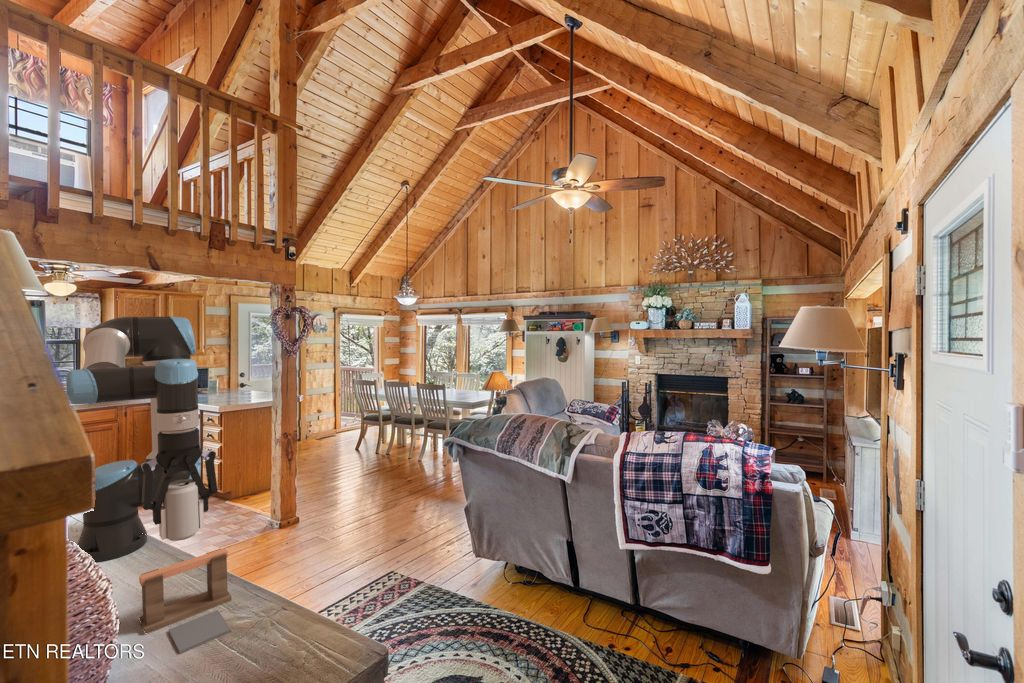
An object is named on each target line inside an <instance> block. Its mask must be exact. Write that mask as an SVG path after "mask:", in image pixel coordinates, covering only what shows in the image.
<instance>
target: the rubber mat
mask: <svg viewBox="0 0 1024 683" xmlns="http://www.w3.org/2000/svg"><path fill="white" fill-rule="evenodd" d="M230 632H232V628H231V627H230V625H229V624H228V622H227V621H226V620H225V618H224V616H223V615H222V614H221V612H220V611H219V610H218V609H217V610H214V611H211V612H209V613H206V614H203V615H202V616H199V617H197V618H194V619H192V620H189V621H187V622H185V623H182V624H178V625H176V626H175V627H172V628H170V629H168V634H169V636H170V637H171V640H172V642H173V643H174V646H175V647H176V650H177V651H178V653H179V654H183V653H185V652H188V651H189V650H192V649H194V648H196V647H199V646H201V645H203V644H205V643H207V642H210V641H213V640H215V639H217V638H219V637H222V636H224V635H225V634H227V633H230Z"/></svg>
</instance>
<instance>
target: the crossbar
mask: <svg viewBox="0 0 1024 683" xmlns="http://www.w3.org/2000/svg"><path fill="white" fill-rule="evenodd" d="M219 549H220V550H218V549H216V550H217V551H215V550H213V551H214V552H212V551H210V552H211V553H209V552H207V553H208V554H206V553H205V554H202V555H199V556H196V557H192V558H190V559H189V558H188V559H187V560H184V561H181V562H178V563H174V564H171V565H169V566H165V567H162V568H157V569H158V570H156V569H154V570H155V571H153V570H151V571H152V572H150V571H148V572H149V573H147V572H145V573H146V574H143V573H142V574H143V575H141V574H140V575H138V576H139V578H138V579H139V584H140V586H141V587H142V586H144V585H145V580H147V579H150V578H153V577H156V576H159V575H163V580H164V579H167V578H170V577H173V576H176V575H180V574H183V573H185V572H188V571H192V570H195V569H197V568H200V567H203V566H207V564H209V563H211V558H214V557H217V556H220V555H223V554H226V555H227V558H229V557H228V556H229V554H228V552H229V550H227V549H226V548H225V547H224V548H219Z"/></svg>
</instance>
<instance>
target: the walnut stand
mask: <svg viewBox="0 0 1024 683" xmlns="http://www.w3.org/2000/svg"><path fill="white" fill-rule="evenodd" d="M220 549H221V548H219V549H215V550H212V551H209V552H206V553H205V554H208V553H211V552H214V551H217V550H220ZM158 569H159V568H156V569H154V570H149V571H146V572H144V573H141V574H140V575H143V574H146V573H149V572H152V571H155V570H158ZM206 582H207V584H206V586H207V590H206V591H204V592H201V593H199V594H196V595H193V596H192V597H191V596H190V597H188V598H185V599H182V600H180V601H177V602H174V603H172V604H170V605H167V606H165V595H164V594H165V593H164V579H163V575H159V576H156V577H153V578H150V579H147V580H145V585H144V586H141V595H142V596H141V598H142V599H141V601H142V603H141V604H142V615H140V616H138V618H140V621H141V623H142V626H143V628H142V630H143V629H144V631H145V633H148V634H150V633H153V632H155V631H157V630H160V629H162V628H165V627H168V626H170V625H173V624H176V623H177V622H180V621H183V620H185V619H188V618H190V617H192V616H196V615H199V614H200V613H202V612H205V611H208V610H211V609H213V608H215V607H218V606H221V605H222V604H223V605H224V604H225V603H228V602H230V601H232V598H233V597H232V595H231V594H230V592H229V590H228V557H227V555H226V554H223V555H220V556H217V557H214V558H211V563H209V564H207V565H206ZM140 621H139V622H140ZM142 626H141V627H142ZM144 631H143V632H144ZM152 631H153V632H152ZM149 632H150V633H149ZM145 633H144V634H145Z"/></svg>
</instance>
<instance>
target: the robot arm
mask: <svg viewBox="0 0 1024 683" xmlns="http://www.w3.org/2000/svg"><path fill="white" fill-rule="evenodd" d="M195 340H196V339H195V334H194V331H193V326H192V324H191V322H190V319H188V318H187V317H184V316H183V317H181V316H171V315H170V316H119V317H115V318H112V319H108V320H105V321H103V322H101V323H99V324H97V325H95V326H94V327H92V328H91V329H90V330H88V332H87V333H86V335H85V336H84V339H83V341H82V348H83V351H84V353H85V358H84V362H83V367H82V368H79V369H72V370H69V371H68V372H67V373H66V381H65V383H66V384H65V385H66V386H65V388H66V390H65V391H66V395H67V394H68V396H69V398H70V401H71V403H70V404H71V405H95V404H102V403H103V404H104V403H105V404H106V403H117V402H127V401H136V400H137V401H138V400H149V399H150V423H151V447H152V448H151V452H150V453H148V455H146V457H145V461H142V462H141V463H140V464H138V462H137V461H136V460H134V459H128V460H125V459H123V460H118V461H114V462H110V463H106V464H103V465H100V466H98V467H95V468H96V469H95V468H94V469H95V490H96V500H95V507H94V511H90V512H87V513H84V514H83V513H82V520H83V523H82V524H83V526H82V530H81V533H80V536H79V537H78V538H79V539H78V542H77V544H76V546H77V545H79V547H80V548H81V549H82V550H84V551H85V552H87V553H88V554H90V555H91V556H92V558H93V559H94V560H95V561H96V562H104V561H108V560H109V561H110V560H113V559H117V558H120V557H123V556H127V555H130V554H131V553H134V552H136V551H137V550H139V549H140V548H142V547H143V546H145V545H146V543H147V541H148V532H147V529H146V527H145V525H144V523H143V522H142V520H141V517H140V515H139V508H140V507H141V508H143V510H145V511H149V510H150V511H152V521H153V523H154V524H155V526H156V525H158V533H159V537H160V539H161V540H168V539H167V537H166V509H165V508H164V507H163V501H164V498H165V495H166V492H167V489H168V486H169V483H170V482H173V481H177V480H183V479H193V480H194V481H195V482H196V485H197V487H198V495H199V496H198V505H199V530H201V529H204V528H205V522H204V521H205V519H204V518H205V516H204V514H205V513H206V512H208V511H209V499H210V497H211V496H212V495H214V494H217V493H218V483H217V476H216V467H215V466H216V465H215V459H216V455H217V453H216V451H214V450H213V449H207V450H203V449H202V448H201V444H200V443H201V442H200V429H199V428H198V426H200V420H199V419H200V418H199V417H200V416H199V402H198V401H199V394H198V393H199V389H198V388H199V386H198V385H199V384H198V377H199V372H198V365H197V364H198V363H197V361H195V360H194V359H192V358H191V356H194V355H196V354H197V348H196V341H195ZM126 358H141V362H142V364H143V365H144V366H141V365H140V366H126ZM201 456H202V458H201ZM202 459H203V461H204V464H205V473H206V480H207V488H206V486H205V484H204V481H203V480H202V477H201V471H202ZM142 533H143V534H142ZM145 534H146V535H147V536H146V535H145ZM96 562H95V563H96Z"/></svg>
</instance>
